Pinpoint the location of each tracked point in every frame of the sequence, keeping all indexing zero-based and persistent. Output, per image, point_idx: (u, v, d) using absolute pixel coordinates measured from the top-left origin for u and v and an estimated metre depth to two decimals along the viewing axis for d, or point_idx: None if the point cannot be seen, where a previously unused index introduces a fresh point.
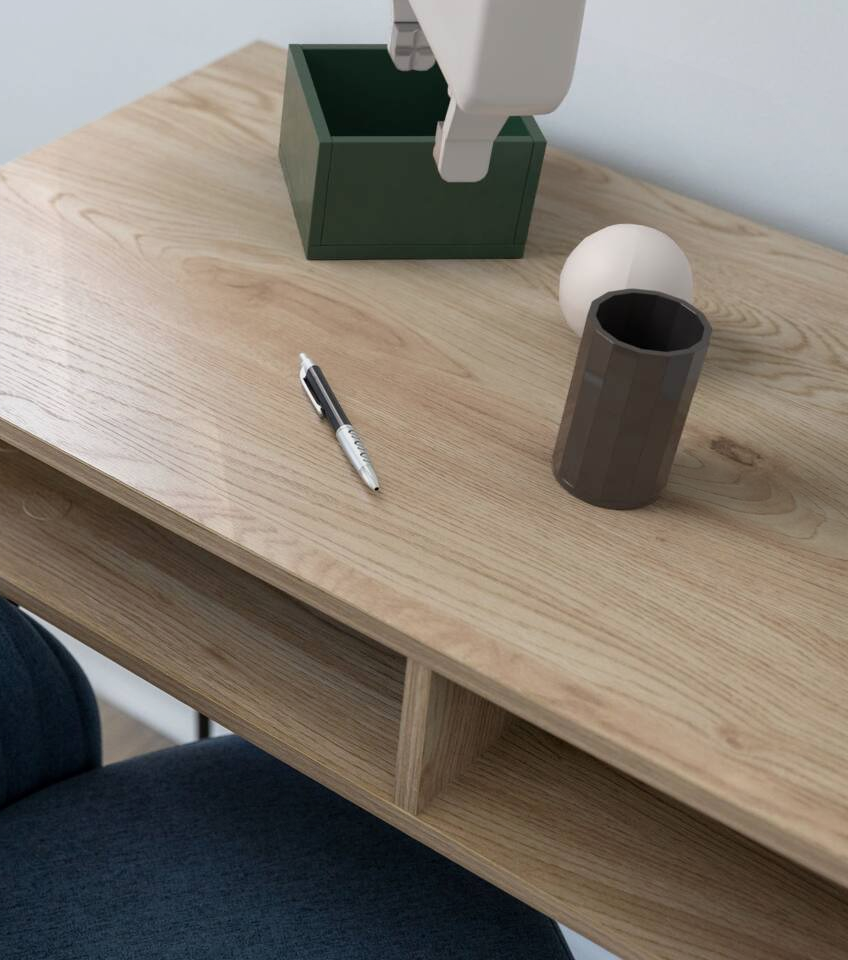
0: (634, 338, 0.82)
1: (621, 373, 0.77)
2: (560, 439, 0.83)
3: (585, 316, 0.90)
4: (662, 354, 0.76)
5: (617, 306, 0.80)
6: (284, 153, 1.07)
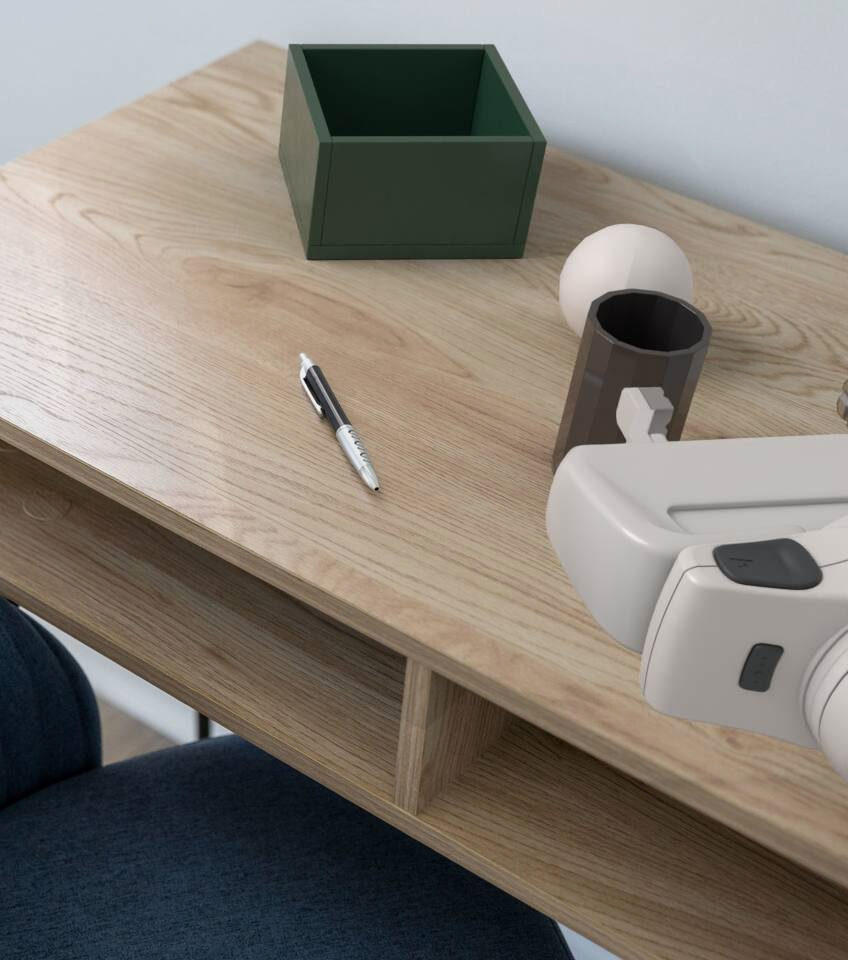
0: (634, 338, 0.82)
1: (621, 373, 0.77)
2: (560, 439, 0.83)
3: (585, 316, 0.90)
4: (662, 354, 0.76)
5: (617, 306, 0.80)
6: (284, 153, 1.07)
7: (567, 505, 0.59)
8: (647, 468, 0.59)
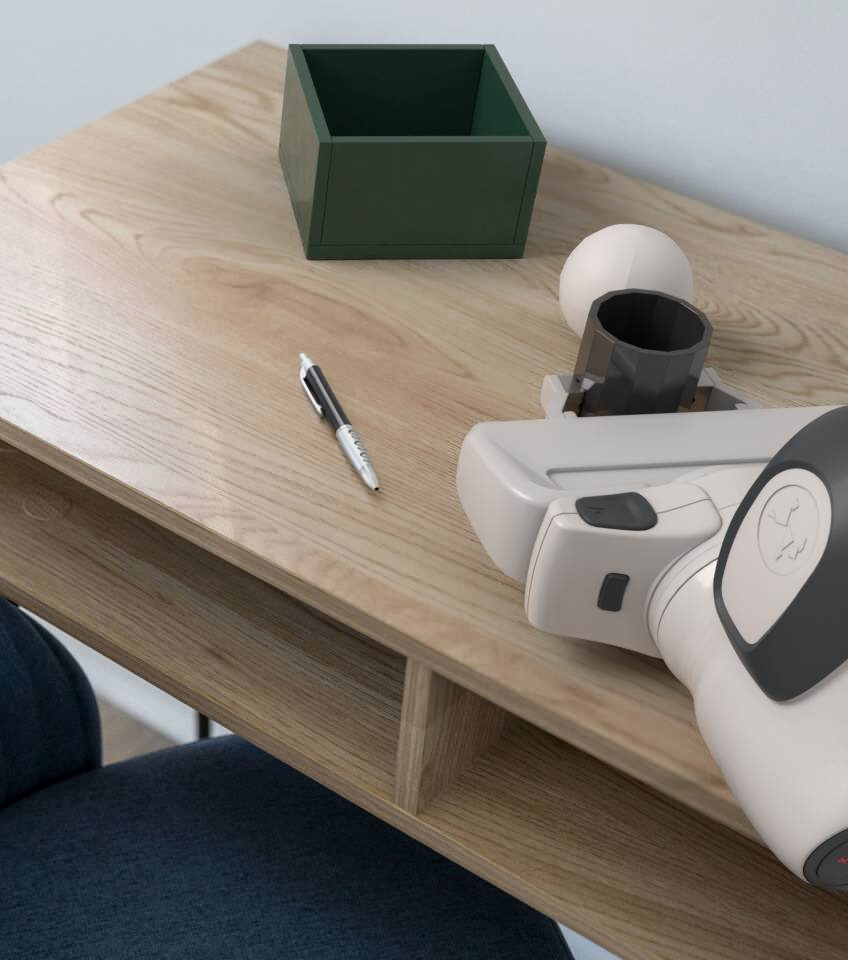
0: (634, 338, 0.82)
1: (621, 373, 0.77)
2: None
3: (585, 316, 0.90)
4: (663, 354, 0.76)
5: (618, 306, 0.80)
6: (284, 153, 1.07)
7: (470, 469, 0.75)
8: (533, 439, 0.75)
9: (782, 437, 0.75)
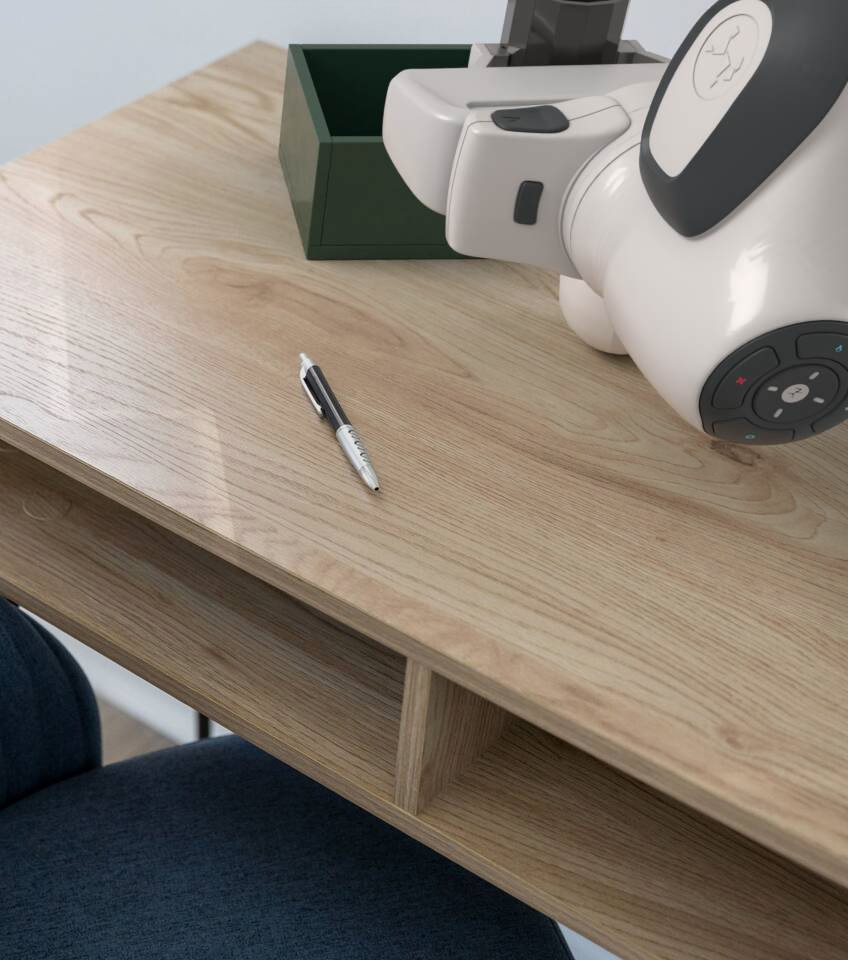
0: None
1: (543, 28, 0.79)
2: None
3: (585, 316, 0.90)
4: (583, 4, 0.78)
5: None
6: (284, 153, 1.07)
7: (394, 110, 0.77)
8: (456, 81, 0.77)
9: None
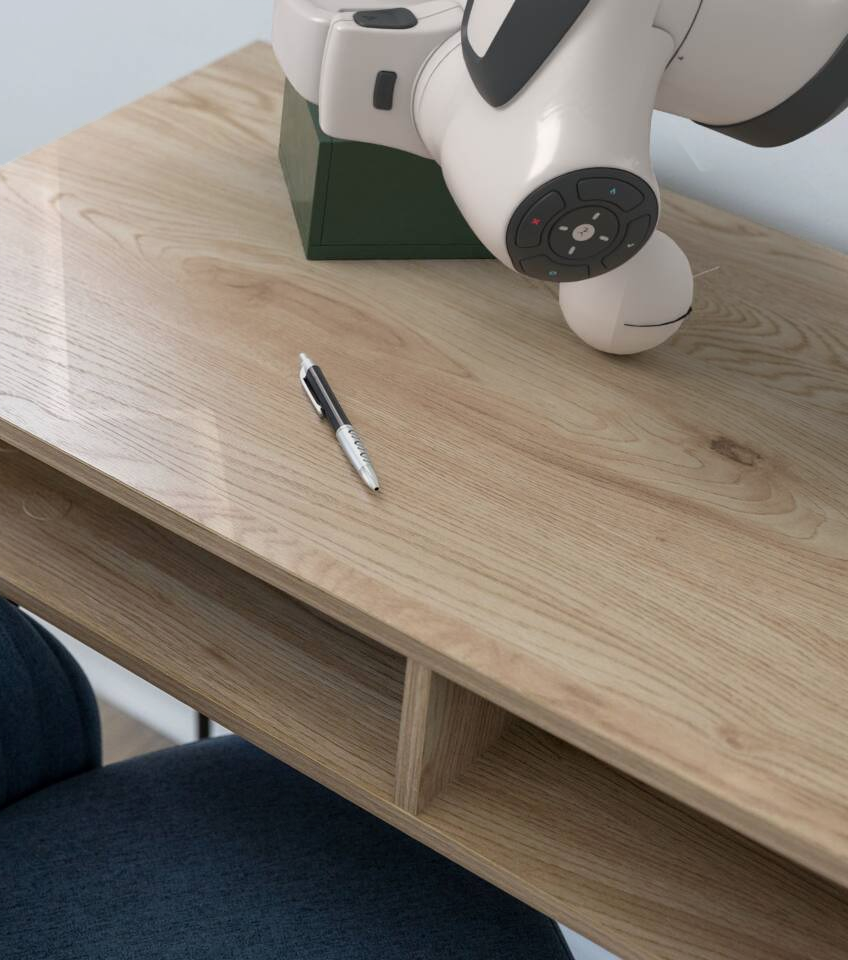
0: None
1: None
2: None
3: (585, 316, 0.90)
4: None
5: None
6: (284, 153, 1.07)
7: (279, 17, 0.90)
8: None
9: None
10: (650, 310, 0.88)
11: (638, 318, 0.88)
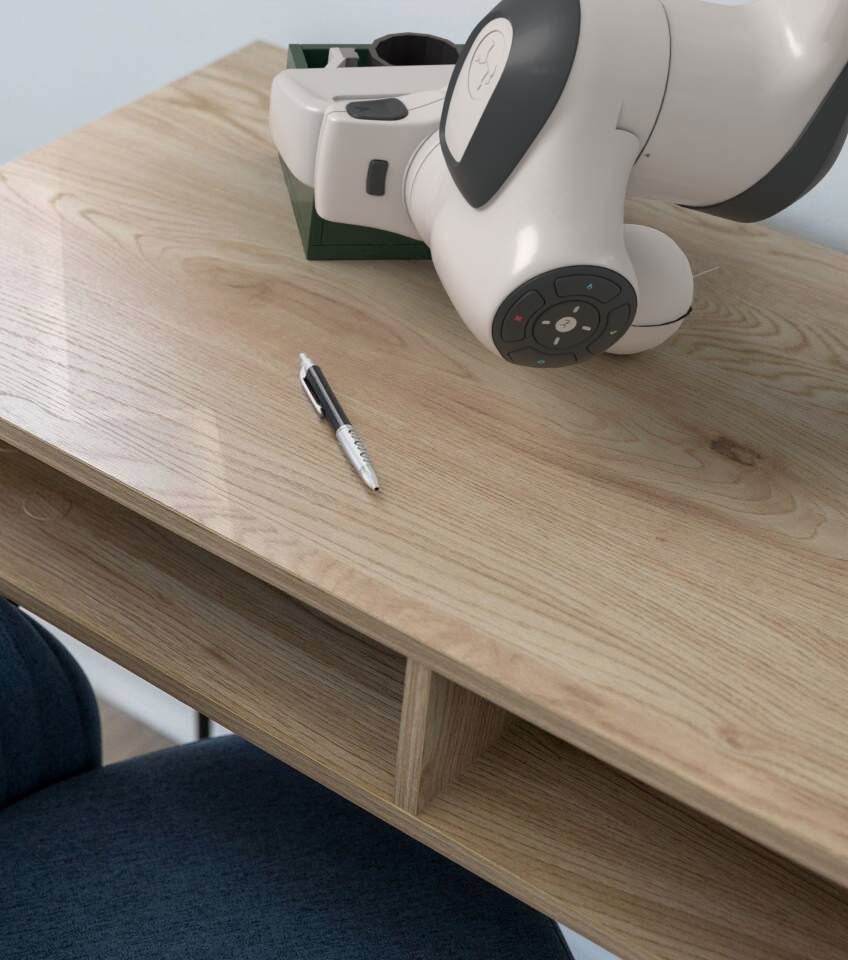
0: None
1: None
2: None
3: None
4: None
5: (396, 46, 1.01)
6: None
7: (276, 103, 0.93)
8: (326, 78, 0.93)
9: None
10: (650, 310, 0.88)
11: (638, 318, 0.88)
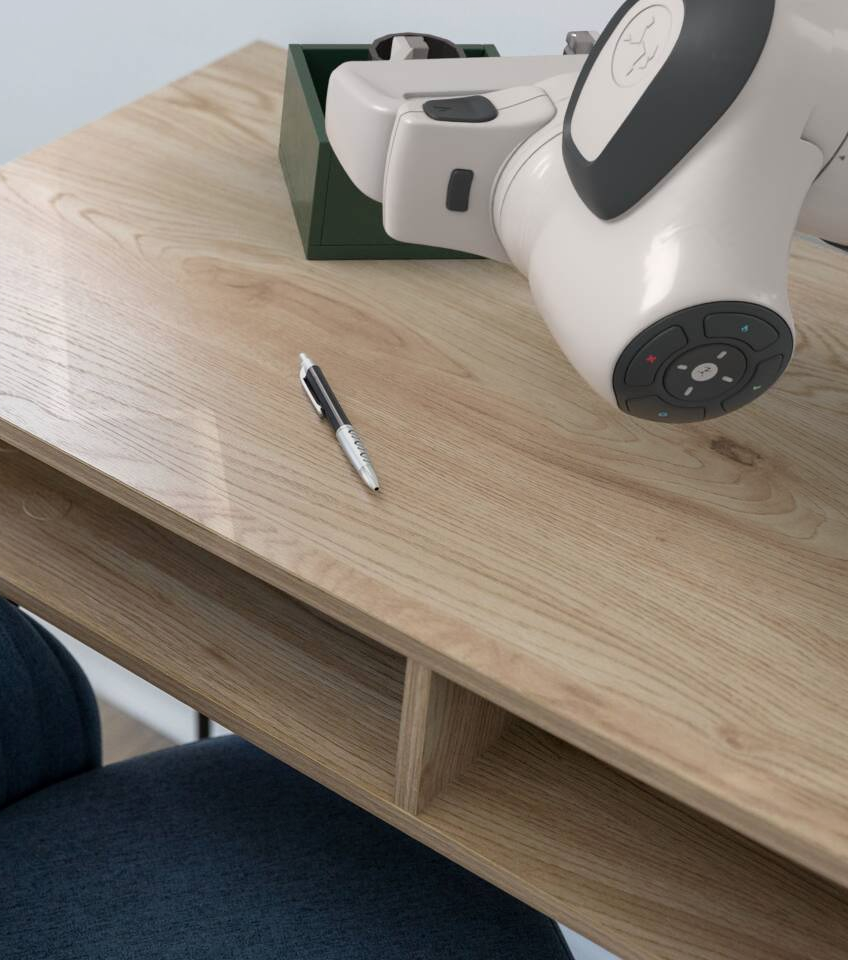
0: None
1: None
2: None
3: None
4: None
5: None
6: (284, 153, 1.07)
7: (335, 101, 0.79)
8: (394, 72, 0.79)
9: None
10: None
11: None
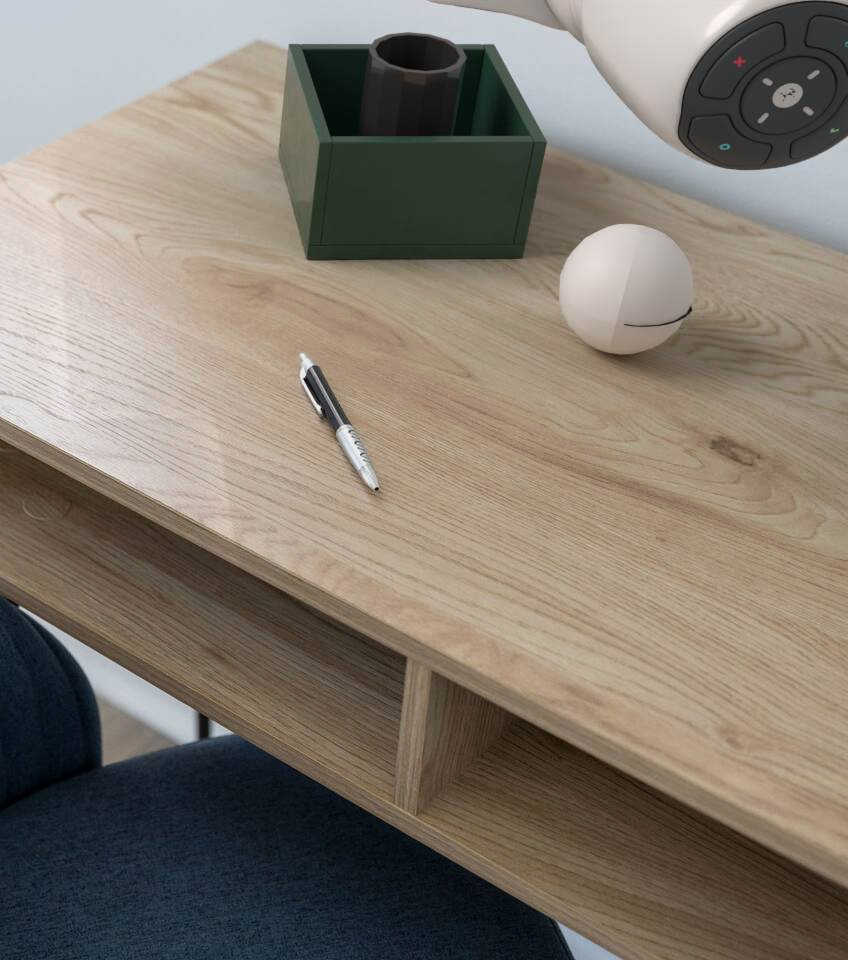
0: None
1: (392, 91, 0.98)
2: None
3: (585, 316, 0.90)
4: (422, 72, 0.97)
5: (396, 46, 1.01)
6: (284, 153, 1.07)
7: None
8: None
9: None
10: (650, 310, 0.88)
11: (638, 318, 0.88)
